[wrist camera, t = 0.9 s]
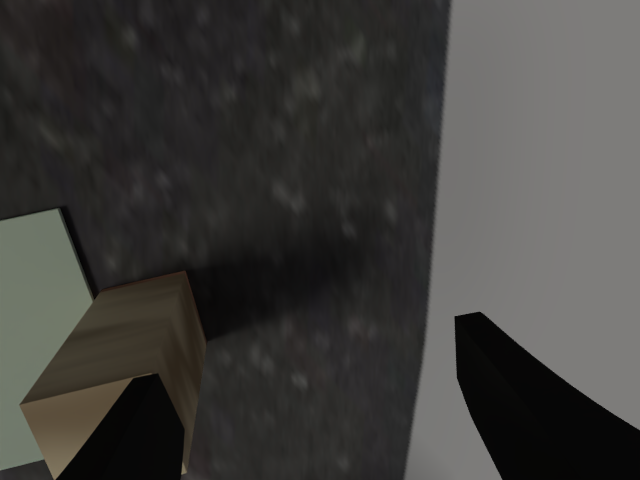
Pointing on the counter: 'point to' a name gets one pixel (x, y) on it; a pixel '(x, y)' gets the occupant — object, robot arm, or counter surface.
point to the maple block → (119, 364)
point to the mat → (33, 316)
